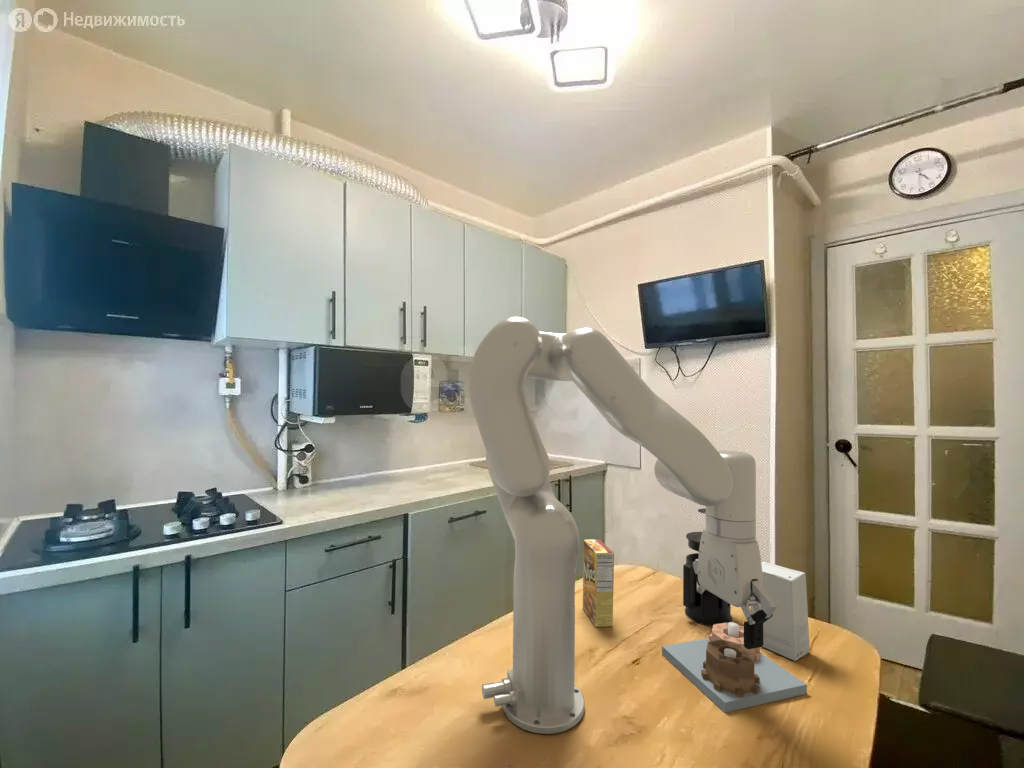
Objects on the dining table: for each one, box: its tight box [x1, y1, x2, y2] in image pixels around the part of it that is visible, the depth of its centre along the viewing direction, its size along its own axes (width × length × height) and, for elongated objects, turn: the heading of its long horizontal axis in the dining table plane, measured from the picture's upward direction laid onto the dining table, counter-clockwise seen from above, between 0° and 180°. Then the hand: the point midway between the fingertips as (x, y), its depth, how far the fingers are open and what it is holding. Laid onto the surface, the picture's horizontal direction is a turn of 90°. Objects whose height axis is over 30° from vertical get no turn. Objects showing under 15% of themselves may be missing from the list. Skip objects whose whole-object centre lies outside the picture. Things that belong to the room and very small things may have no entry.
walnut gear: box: [701, 639, 760, 697], centre depth 75 cm, size 8×8×4 cm
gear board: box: [661, 621, 808, 713], centre depth 79 cm, size 16×16×6 cm
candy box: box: [582, 538, 615, 628], centre depth 99 cm, size 9×4×15 cm, turn 9°
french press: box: [682, 507, 733, 627], centre depth 99 cm, size 12×9×23 cm
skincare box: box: [750, 561, 811, 662], centre depth 87 cm, size 8×6×15 cm
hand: (730, 631), depth 75 cm, fingers open, 9 cm apart
